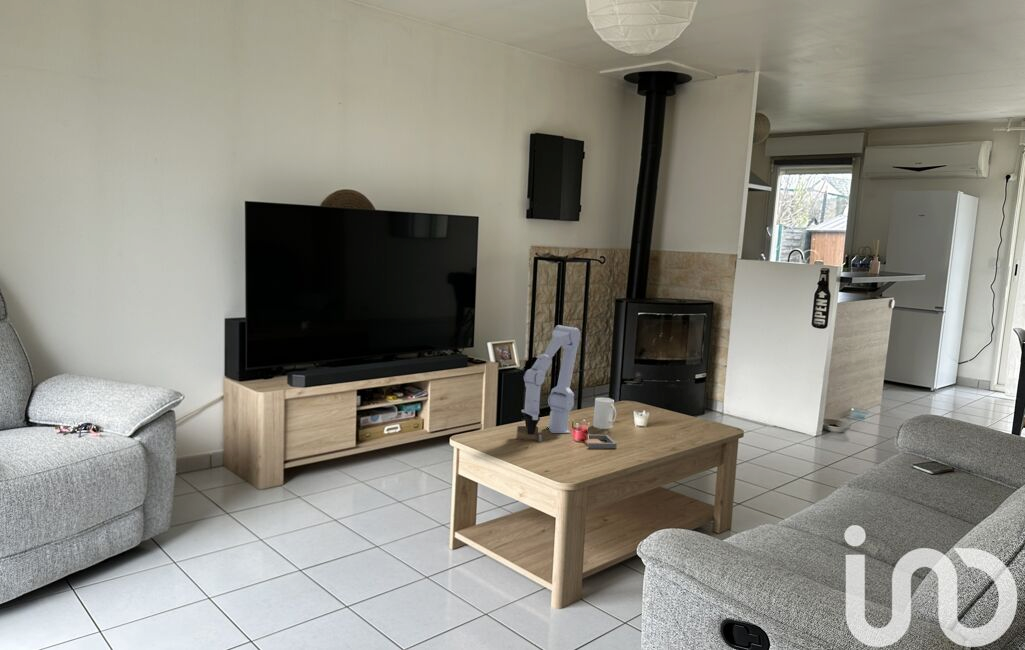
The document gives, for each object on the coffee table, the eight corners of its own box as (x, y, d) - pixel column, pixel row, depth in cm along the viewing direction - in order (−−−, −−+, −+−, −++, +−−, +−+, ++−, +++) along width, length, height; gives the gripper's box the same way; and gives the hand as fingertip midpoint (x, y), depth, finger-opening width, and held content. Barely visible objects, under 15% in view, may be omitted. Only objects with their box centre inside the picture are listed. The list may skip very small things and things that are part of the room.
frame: (580, 439, 288) (581, 434, 288) (606, 439, 290) (607, 434, 290) (589, 448, 276) (589, 443, 276) (616, 448, 278) (616, 443, 278)
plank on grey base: (515, 436, 287) (516, 424, 286) (537, 436, 288) (537, 424, 288) (519, 442, 279) (519, 429, 278) (541, 442, 281) (542, 429, 280)
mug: (621, 430, 306) (623, 403, 304) (605, 432, 301) (607, 404, 300) (604, 423, 316) (606, 396, 314) (588, 424, 311) (590, 397, 310)
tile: (583, 442, 285) (583, 439, 285) (597, 442, 287) (597, 438, 287) (588, 447, 280) (588, 443, 279) (602, 446, 281) (603, 443, 281)
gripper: (519, 395, 288) (516, 427, 290) (526, 403, 274) (523, 438, 276) (536, 395, 289) (533, 428, 291) (544, 404, 275) (541, 438, 277)
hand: (530, 433), depth 284 cm, fingers closed on plank on grey base, 2 cm apart
